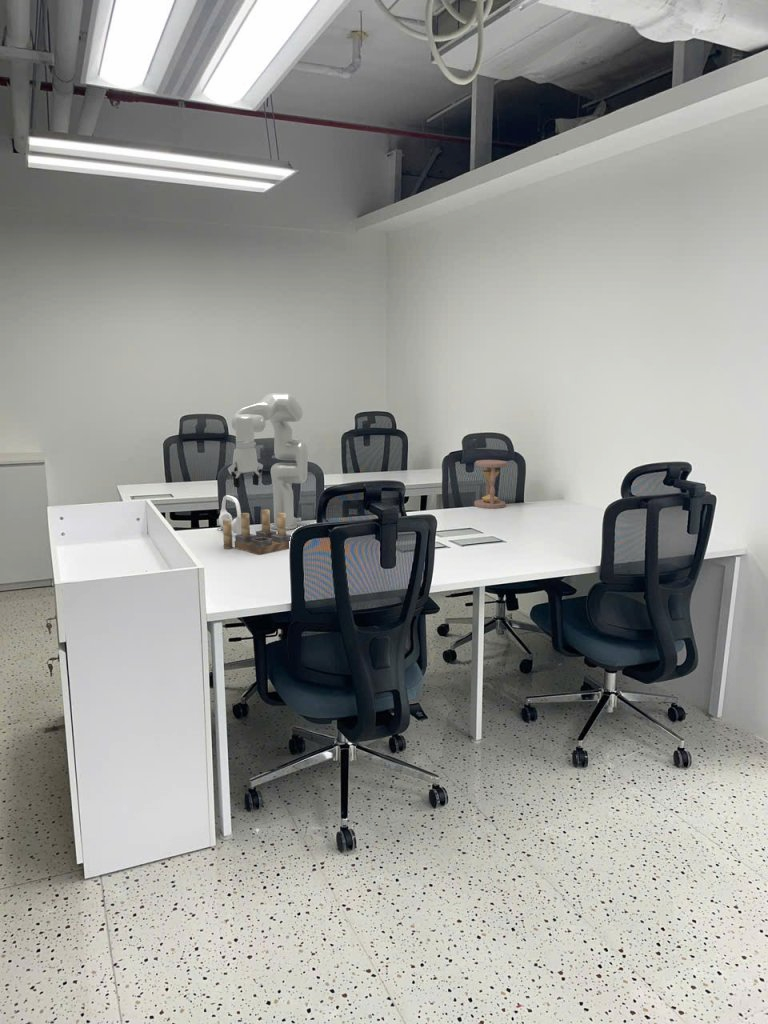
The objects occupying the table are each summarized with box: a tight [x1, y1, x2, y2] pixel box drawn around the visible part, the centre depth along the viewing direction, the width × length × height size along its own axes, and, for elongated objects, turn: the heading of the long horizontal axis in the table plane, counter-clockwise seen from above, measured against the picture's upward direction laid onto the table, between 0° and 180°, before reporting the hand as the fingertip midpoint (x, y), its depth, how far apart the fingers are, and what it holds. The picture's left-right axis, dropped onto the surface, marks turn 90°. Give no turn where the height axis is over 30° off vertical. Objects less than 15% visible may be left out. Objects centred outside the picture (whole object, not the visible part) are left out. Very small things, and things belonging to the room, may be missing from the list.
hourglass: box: [473, 459, 508, 510], centre depth 421 cm, size 18×18×25 cm
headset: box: [216, 494, 242, 535], centre depth 352 cm, size 20×7×18 cm, turn 34°
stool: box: [233, 509, 292, 556], centre depth 325 cm, size 18×18×15 cm
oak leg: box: [222, 520, 233, 550], centre depth 325 cm, size 4×4×12 cm
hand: (246, 486), depth 318 cm, fingers open, 9 cm apart
